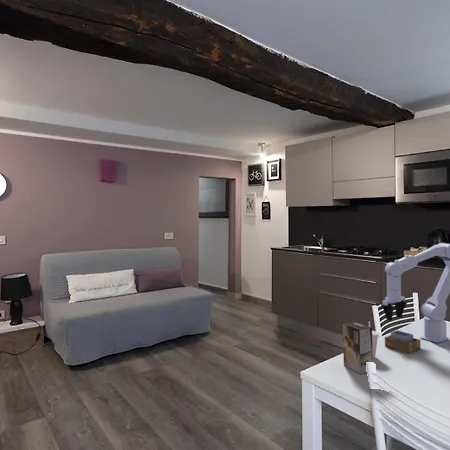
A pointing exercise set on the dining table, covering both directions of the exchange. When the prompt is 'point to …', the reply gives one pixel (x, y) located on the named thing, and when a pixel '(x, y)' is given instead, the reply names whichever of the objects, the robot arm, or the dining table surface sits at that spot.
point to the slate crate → (402, 336)
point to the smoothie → (374, 341)
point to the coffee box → (357, 346)
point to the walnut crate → (402, 345)
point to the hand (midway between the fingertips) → (394, 318)
